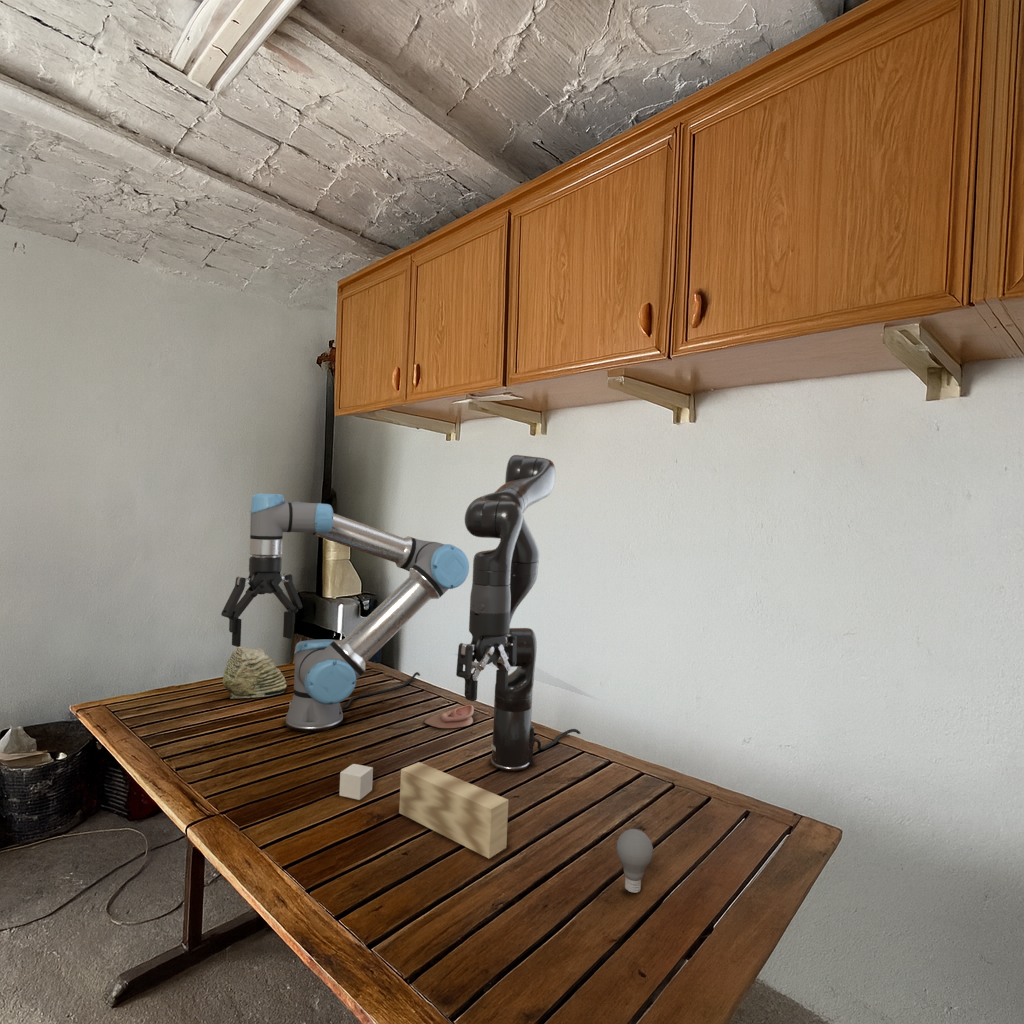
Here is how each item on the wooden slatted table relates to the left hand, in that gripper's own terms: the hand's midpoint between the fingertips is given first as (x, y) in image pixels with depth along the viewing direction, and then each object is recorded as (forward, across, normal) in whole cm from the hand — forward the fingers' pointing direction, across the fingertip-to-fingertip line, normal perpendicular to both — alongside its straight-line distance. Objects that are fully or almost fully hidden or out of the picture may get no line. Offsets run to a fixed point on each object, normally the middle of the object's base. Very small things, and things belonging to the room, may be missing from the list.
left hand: (262, 641), depth 157 cm
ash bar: (+27, -5, +61) cm, 67 cm away
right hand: (-1, -5, +69) cm, 69 cm away
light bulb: (+27, -12, +97) cm, 101 cm away
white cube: (+27, -2, +36) cm, 45 cm away
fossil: (+27, -21, -39) cm, 52 cm away
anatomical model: (+27, -47, +20) cm, 58 cm away
